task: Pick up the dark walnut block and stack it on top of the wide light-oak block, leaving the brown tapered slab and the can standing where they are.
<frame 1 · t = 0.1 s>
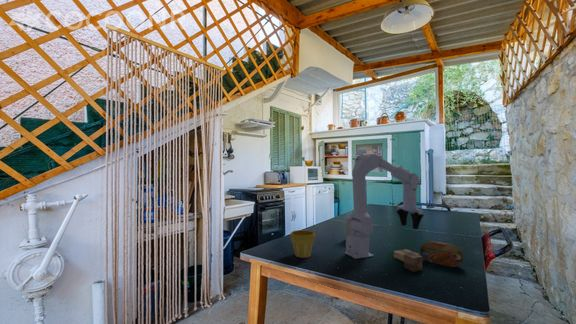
hand: (409, 227, 127), 10 cm above the table, tool pointing down, fingers open, 7 cm apart
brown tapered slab: (441, 264, 107), on the table
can: (352, 241, 139), on the table
walnut block: (412, 268, 102), on the table
oak block: (406, 259, 113), on the table
plant pot: (302, 255, 116), on the table
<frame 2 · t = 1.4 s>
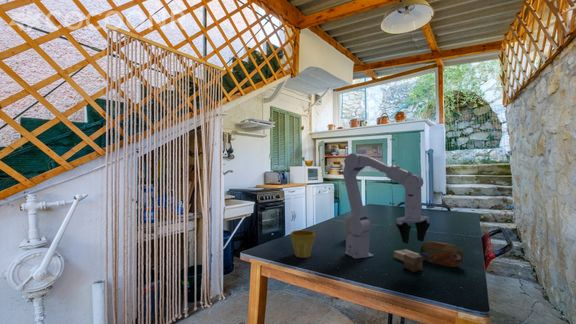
hand: (413, 241, 102), 10 cm above the table, tool pointing down, fingers open, 7 cm apart
nothing on the table moved.
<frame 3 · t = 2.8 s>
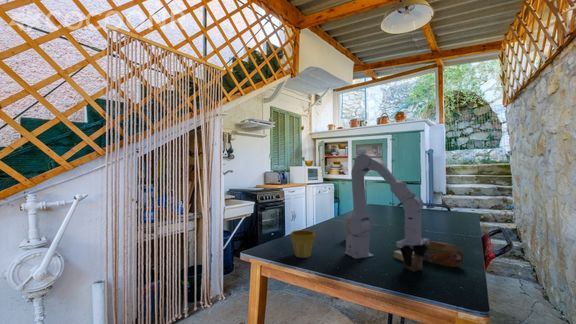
hand: (412, 264, 102), 1 cm above the table, tool pointing down, fingers closed on walnut block, 4 cm apart
walnut block: (412, 268, 102), on the table, touching gripper
everything else where it was.
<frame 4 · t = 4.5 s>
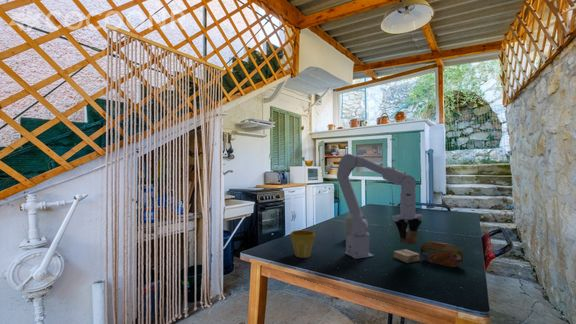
hand: (407, 237, 111), 9 cm above the table, tool pointing down, fingers closed on walnut block, 4 cm apart
walnut block: (408, 242, 110), point 7 cm above the table, touching gripper
everything else where it was.
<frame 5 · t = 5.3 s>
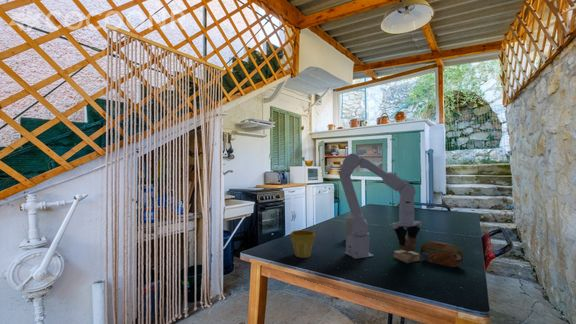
hand: (406, 244, 113), 6 cm above the table, tool pointing down, fingers closed on walnut block, 4 cm apart
walnut block: (407, 249, 112), point 4 cm above the table, touching gripper
everything else where it was.
when the fingers open (5 cm above the table, at t = 6.0 s): walnut block stays where it is, point 3 cm above the table.
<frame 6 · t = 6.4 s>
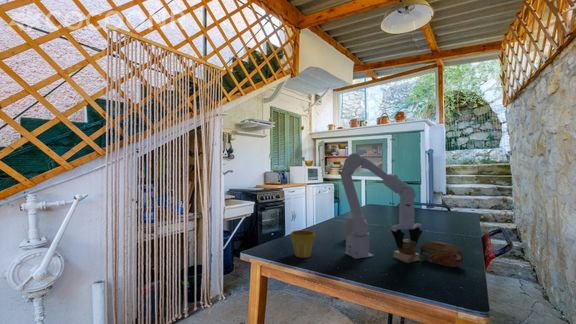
hand: (406, 247, 113), 5 cm above the table, tool pointing down, fingers open, 7 cm apart
walnut block: (407, 252, 112), point 3 cm above the table
everything else where it was.
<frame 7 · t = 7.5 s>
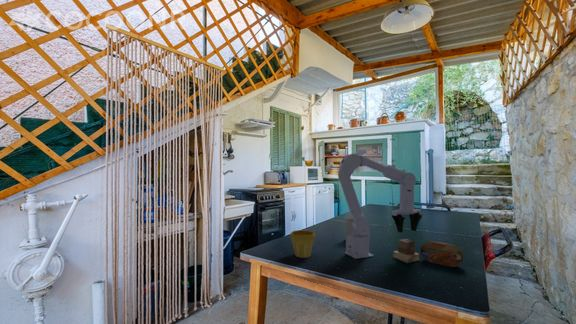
hand: (406, 231, 117), 10 cm above the table, tool pointing down, fingers open, 7 cm apart
walnut block: (406, 252, 113), point 3 cm above the table, touching oak block
oak block: (406, 259, 113), on the table, touching walnut block
everything else where it was.
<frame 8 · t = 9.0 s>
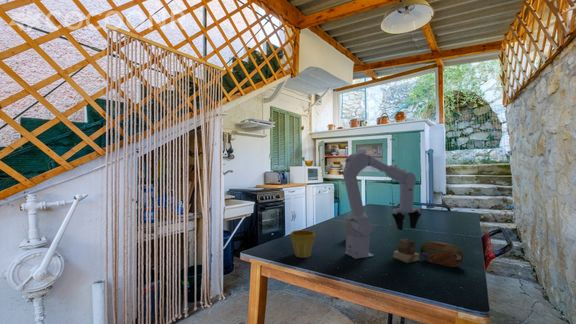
hand: (406, 228, 122), 10 cm above the table, tool pointing down, fingers open, 7 cm apart
nothing on the table moved.
at the end: walnut block 0.1 cm off-centre on the oak block, point 3.1 cm above the oak block's base; walnut block tilted 1°; the gripper is holding nothing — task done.
